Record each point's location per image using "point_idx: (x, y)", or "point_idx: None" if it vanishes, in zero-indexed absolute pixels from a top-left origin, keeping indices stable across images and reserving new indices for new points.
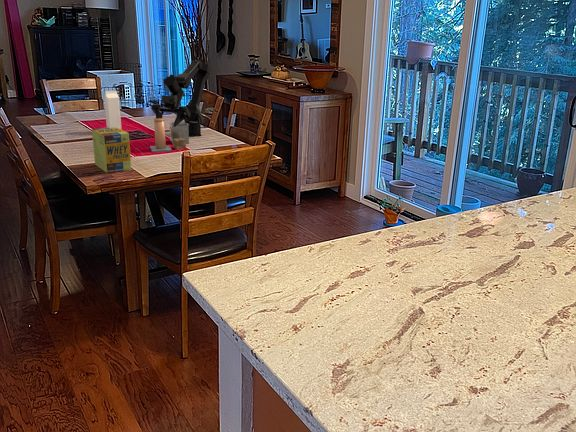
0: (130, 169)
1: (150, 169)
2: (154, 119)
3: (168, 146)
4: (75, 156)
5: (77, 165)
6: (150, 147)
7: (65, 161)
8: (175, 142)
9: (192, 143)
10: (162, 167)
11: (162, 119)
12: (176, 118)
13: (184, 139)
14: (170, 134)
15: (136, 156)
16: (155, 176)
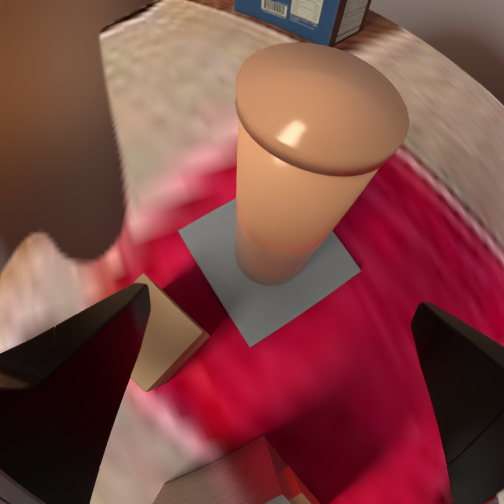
0: (235, 8)
1: (179, 21)
2: (365, 65)
3: (238, 311)
4: (469, 93)
5: (391, 29)
6: (346, 251)
7: (442, 56)
8: (169, 298)
9: (141, 484)
10: (148, 39)
11: (253, 72)
12: (64, 342)
13: None
14: (311, 493)
15: None
16: (149, 4)
